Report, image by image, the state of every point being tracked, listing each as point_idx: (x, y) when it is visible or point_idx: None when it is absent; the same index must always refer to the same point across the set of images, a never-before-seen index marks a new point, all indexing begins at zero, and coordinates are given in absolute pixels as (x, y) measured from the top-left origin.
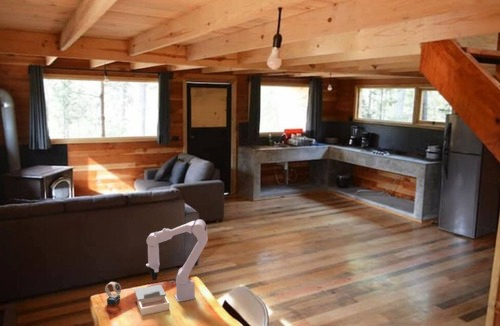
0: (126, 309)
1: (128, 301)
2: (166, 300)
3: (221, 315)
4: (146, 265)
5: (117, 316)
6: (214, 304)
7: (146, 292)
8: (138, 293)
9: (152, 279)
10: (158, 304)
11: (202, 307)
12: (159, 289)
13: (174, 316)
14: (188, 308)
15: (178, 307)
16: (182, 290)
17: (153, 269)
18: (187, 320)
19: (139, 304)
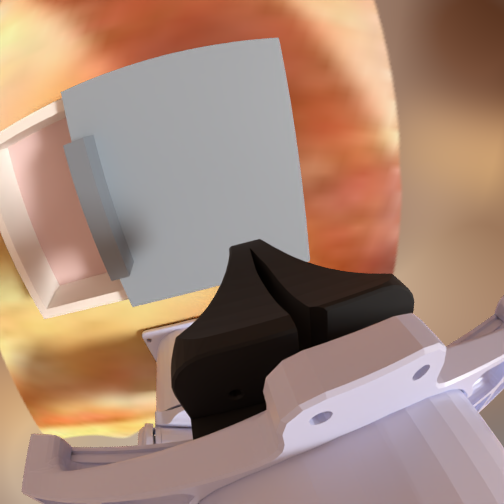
0: (95, 22)
1: (209, 16)
2: (68, 304)
3: (64, 429)
4: (308, 389)
5: (34, 2)
6: (129, 428)
7: (183, 147)
8: (180, 74)
9: (229, 251)
10: (17, 258)
11: (102, 402)
12: (220, 257)
13: (15, 311)
14: (86, 365)
15: (90, 330)
16: (156, 396)
17: (193, 419)
18: (5, 352)
19: (30, 115)
